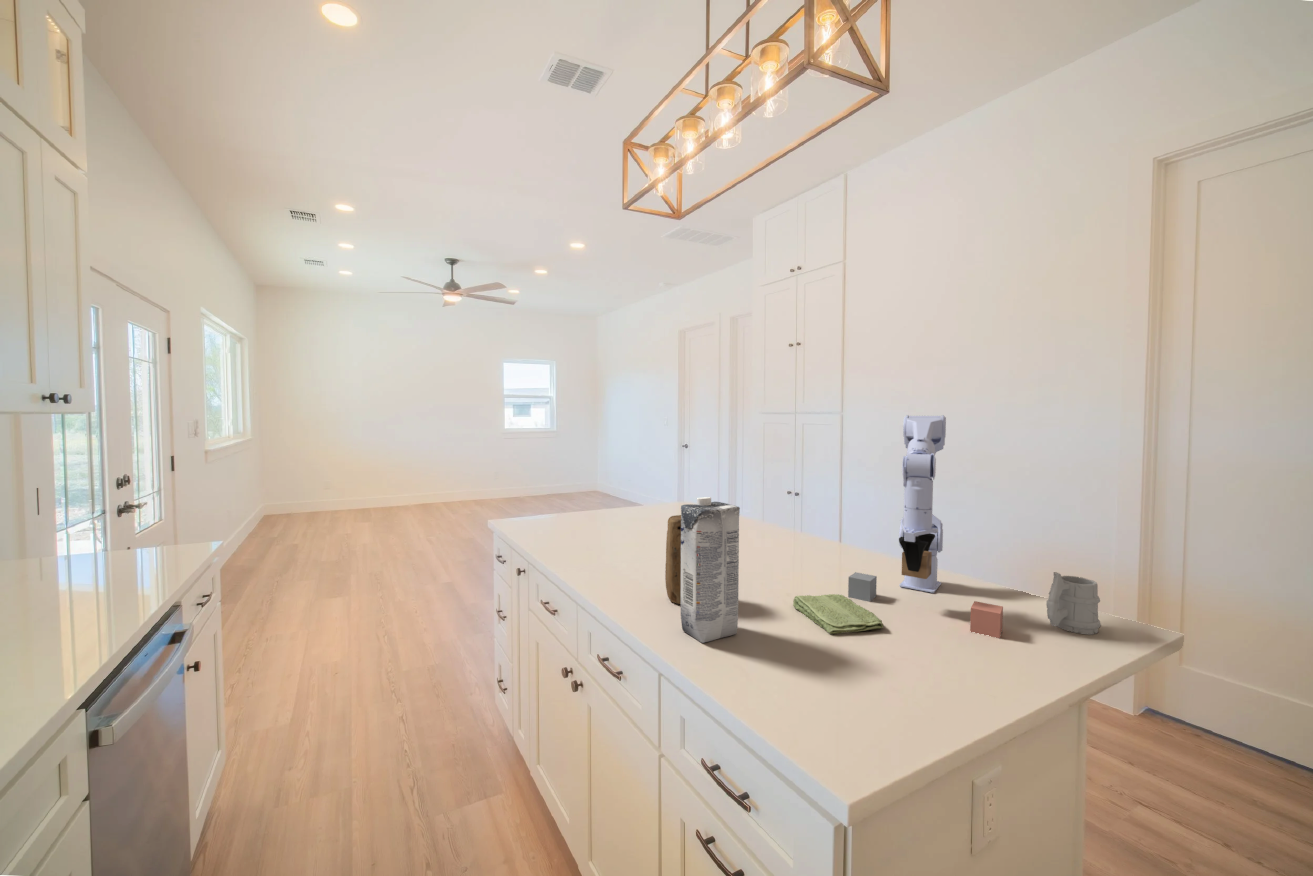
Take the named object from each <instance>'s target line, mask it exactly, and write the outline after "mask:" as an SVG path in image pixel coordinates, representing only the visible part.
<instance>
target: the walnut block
mask: <svg viewBox="0 0 1313 876" xmlns="http://www.w3.org/2000/svg"><path fill="white" fill-rule="evenodd" d="M931 563H932V552H929V551H924V552H923V555H922V560H921V566H920V569H919V572H915V571H910V570H908V568H907V563H906V558H905V554H904V551H902V552H901V576H904V575H905V576H911V577H917V578H922V579H927V578H928V577H929V576H930V575H931Z"/></svg>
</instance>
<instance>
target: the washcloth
mask: <svg viewBox="0 0 1313 876" xmlns="http://www.w3.org/2000/svg"><path fill="white" fill-rule="evenodd" d="M792 606H793V608H795V610H797V611H799V613H800V614H802V615H803V614H804V616H805V617H806V618H807V617H808V618H807V619H809V620H810V621H812V622H814V623H815V624H817V625H818V626H819V625H820V626H819V627H820V628H822V629H823V630H824V631H826V632H827V633H828V634H830V635H831V634H833V635H837V633H838V634H844V633H854V632H855V633H857V632H865V631H870V630H882V629H883V628H884V623H883V621H882V620H881V619H880V618H879V617H878V616H877V615H875V613H874V612H872V611H870V610H868V609H867V608H865V607H863V606H861V605H859V604H857V602H854V601H853V600H852V598H849V597H848V596H847V597H846V596H845V595H843V594H838V593H836V594H835V593H834V594H833V593H832V594H821V595H810V594H809V595H808V594H806V595H795V596H794V598H793V604H792ZM881 628H882V629H881Z"/></svg>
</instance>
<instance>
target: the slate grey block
mask: <svg viewBox="0 0 1313 876" xmlns="http://www.w3.org/2000/svg"><path fill="white" fill-rule="evenodd" d="M847 581H848V583H847V584H848V588H847V589H848V591H847V593H848V594H847V595H848V596H847V598H848V599H854V600H859V601H863V602H868V603H869V602H872V601H873V600H874V599H875V598H876V597H877V582H878V581H877V575H872V574H868V573H862V572H856V571H855V572H853V573H852V574H851V575H849V576H848V580H847Z"/></svg>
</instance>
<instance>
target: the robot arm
mask: <svg viewBox="0 0 1313 876" xmlns="http://www.w3.org/2000/svg"><path fill="white" fill-rule="evenodd" d="M902 422H903V425H902V432H903V433H902V434H903V435H902V436H903V442H904V443H903V444H904V445H905V449H906V454H905V455H903V456H902V461H901V462H902V463H901V470H902V471H901V473H902V478H903V479H902V483H903V489H904V490H903V517H901V519H900V525H899V532H898V533H899V535H898V545H899V547H900V548H901V549H902V552H904V554H905V558H906V563H907V568H908V570H910V571H915V572H919V569H920V566H921V560H922V555H923V552H924V551H929V552H932V563H931V575H930V576H929V577H928V578H927V579H922V578H917V577H911V576H905V575H903V576H904V577H903V578H904V579H903V580H902V582H900V583H899V586H898V587H901V588H904V589H905V588H906V589H912V590H916V591H921V592H926V593H935V592H936V591H937V589H939V587H940V586H941V584H942V581H938V563H939V562H938V560H939V559H938V557H937V556H938V553H941V552H942V551H943V548H944V547H943V546H944V543H943V542H944V539H943V538H944V529H943V526H944V525H943V522H942V520H941V519H939V518H938V517H937V516H936V515H935V514H933V503H934V501H933V499H934V497H933V495H934V481H935V479H936V471H937V466H936V465H937V464H936V463H937V458H936V454H937V452H940V451H942V450H944V446H945V444H946V435H947V433H946V431H947V428H946V427H947V426H946V425H947V417H946V416H945V415H944V414H942V415H909V414H906V415H905V416H903V421H902Z"/></svg>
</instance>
